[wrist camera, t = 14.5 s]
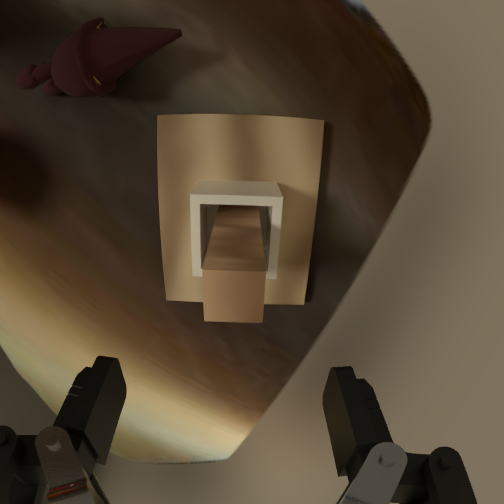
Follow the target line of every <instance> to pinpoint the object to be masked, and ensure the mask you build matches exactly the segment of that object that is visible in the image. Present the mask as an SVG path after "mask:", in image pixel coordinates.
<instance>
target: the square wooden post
mask: <svg viewBox="0 0 504 504" xmlns="http://www.w3.org/2000/svg"><path fill="white" fill-rule="evenodd" d="M202 279H203V304H204V321H218V322H249V323H262V322H263V309H264V295H265V281H266V266H265V258H264V249H263V241H262V233H261V225H260V217H259V209H258V206H254V205H222V204H219V207H218V211H217V215H216V219H215V222H214V226H213V230H212V234H211V237H210V241H209V245H208V249H207V253H206V257H205V261H204V265H203V269H202Z"/></svg>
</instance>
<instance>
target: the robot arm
mask: <svg viewBox="0 0 504 504" xmlns="http://www.w3.org/2000/svg"><path fill="white" fill-rule="evenodd" d="M125 399H126V383H125V380H124V377H123V373H122V370H121V366H120V363H119V360H118V359H117V358H113V357H106V356H98V357H97V358H96V360H95V362H94V364H93V366H92V368H91V367H85V368H84V369H83V370H82V371H81V372H80V373H79V374H78V375H77V376H76V378H75V380H74V382H73V384H72V387H71V388H70V390H69V392H68V395H67V397H66V399H65V401H64V403H63V405H62V407H61V409H60V411H59V414H58V416H57V418H56V420H55V422H54V424H53V426H50V427H47V428H44V429H43V430H41V431H40V432H39V433H38V435H17V434H16V433H15V432H14V431H13V429H11V428H10V427H8V426H0V504H41V502H42V498H43V494H44V490H45V487H46V485H48V487H49V491H50V493H48V494H47V499H48V502H49V504H110V502H109V500H108V499H107V497H106V495H105V493H104V491H103V489H102V487H101V485H100V483H99V481H98V479H97V477H96V475H95V473H94V471H93V470H94V466H95V463H99V464H103V465H105V463H106V460H107V456H108V453H109V450H110V446H111V443H112V440H113V436H114V433H115V430H116V427H117V424H118V420H119V417H120V414H121V411H122V408H123V405H124V402H125ZM323 409H324V413H325V418H326V422H327V427H328V431H329V435H330V440H331V445H332V449H333V454H334V459H335V464H336V469H337V473H338V477H339V476H348V480H349V483H348V485H347V486H346V488H345V490H344V491H343V493H342V494H341V496H340V498H339V499H338V501H337V502H336V504H389V503H390V502H392V503H399V504H477V501H476V498H475V495H474V492H473V489H472V486H471V483H470V481H469V478H468V475H467V472H466V470H465V467H464V464H463V461H462V459H461V457H460V455H459V453H458V452H457V451H455V450H454V449H452V448H450V447H439V448H437V449H435V450H434V451H433V452H432V453H431V454H430V455H427V454H412V453H407V452H405V451H404V450H403V448H401V447H400V446H398V445H397V444H395V443H394V442H393V440H392V438H391V436H390V433H389V430H388V427H387V424H386V422H385V419H384V416H383V414H382V411H381V409H380V406H379V403H378V401H377V398H376V395H375V393H374V390H373V388H372V387H371V385H369V383H368V382H367V381H366V380H365V379H356V376H355V374H354V371H353V368H352V367H351V366H346V367H332V368H331V369H330V372H329V376H328V379H327V383H326V386H325V389H324V393H323Z"/></svg>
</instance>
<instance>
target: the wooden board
mask: <svg viewBox="0 0 504 504" xmlns="http://www.w3.org/2000/svg"><path fill="white" fill-rule="evenodd" d="M323 132H324V120H316V119H306V118H295V117H282V116H265V115H242V114H174V115H157V158H158V193H159V214H160V231H161V246H162V259H163V270H164V281H165V291H166V300H173V301H193V302H203V279H202V277H196V276H192V253H191V220H190V194H191V192H192V191H193V189H194V188H195V186H196V185H197V183H198V181H199V180H231V181H259V182H277V184H278V186H279V189H280V191H281V194H282V196H283V205H282V218H281V231H280V243H279V255H278V266H277V278H276V279H266V281H265V295H264V304H299V305H304V300H305V293H306V286H307V279H308V272H309V265H310V257H311V249H312V241H313V233H314V225H315V216H316V207H317V198H318V188H319V178H320V167H321V156H322V145H323Z"/></svg>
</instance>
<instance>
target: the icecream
mask: <svg viewBox="0 0 504 504" xmlns="http://www.w3.org/2000/svg"><path fill="white" fill-rule="evenodd" d="M103 23H104V20H103V19H102V18H97V19H94V20H92V21H88V22H86V23H84V24H83V25H82V27H81V28H80V29H78V30H76V31H73V32H71V33H70V34H69V35H68V36H67V37H66V39H65V40H64V41H63V42H62V43H61V44H60V45H59V47H58V48H57V49H56V50H55V52H54V54H53V58H52V62H51V63H42V64H40V65H38V66H35V65H33V64H30V65H29V66H28V67H27V68H26V69H24V70H22V71H21V72H20V73H19V74H18V75H17V78H16V82H17V85H18V86H19V87H20V88H21V89H32V88H35V87H37V86H39V85H40V84H42V83H44V82H45V83H44V84H43V88H42V91H43V93H44V94H45V95H47V96H52V95H56V94H60V93H62V92H65V93H66V94H68V95H69V96H74V97H86V96H96V95H99V96H101V97H105V96H106V95H107V94H109V93H111V92H113V91H114V90H115V89H116V86H117V78H118V77H120V76H121V75H122V74H124V73H125V72H127V71H128V70H129V69H131V68H132V67H134V66H135V65H136V64H138V63H139V62H141V61H142V60H144V59H145V58H147V57H148V56H150V55H151V54H153V53H154V52H156V51H158V50H159V49H161V48H162V47H164V46H166V45H167V44H169V43H171V42H173V41H174V40H176V39H177V38H179V37H181V36H182V32H181V30H180V29H169V28H142V27H116V28H108V27H107V26H106V25H105V24H103ZM51 77H52V78H51ZM50 78H51V79H50Z"/></svg>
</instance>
